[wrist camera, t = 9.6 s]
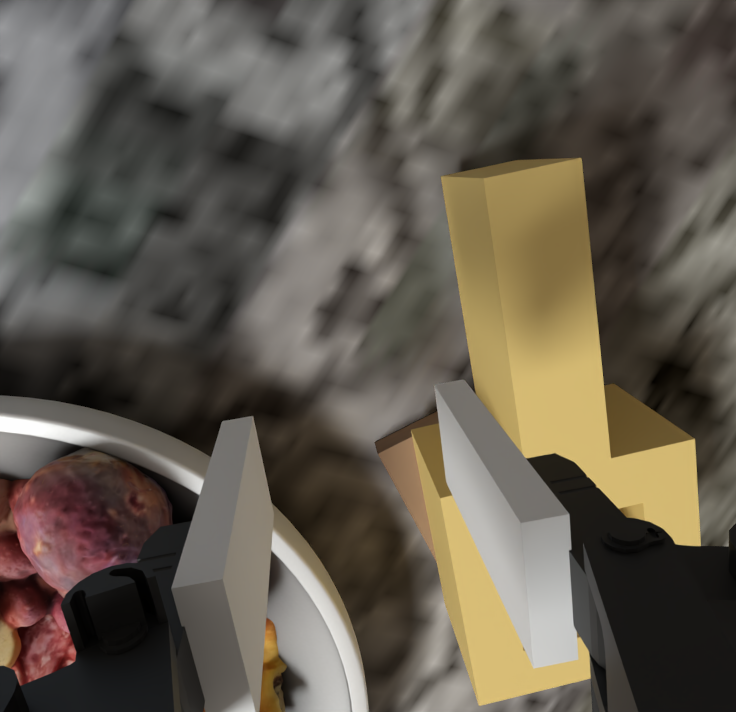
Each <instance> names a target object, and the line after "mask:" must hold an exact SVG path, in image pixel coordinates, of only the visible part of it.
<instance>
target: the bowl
mask: <svg viewBox="0 0 736 712" xmlns="http://www.w3.org/2000/svg"><path fill="white" fill-rule="evenodd" d="M210 459H211V457H210V456H208V455H206V454H205V453H203V452H201V451H199V450H198V449H196V448H194V447H192V446H190V445H188V444H186V443H184V442H182V441H181V440H178V439H176V438H174V437H172V436H170V435H167V434H165V433H163V432H161V431H159V430H156V429H154V428H151V427H148V426H146V425H143V424H141V423H138V422H135V421H133V420H129V419H126V418H123V417H120V416H117V415H114V414H111V413H107V412H103V411H99V410H95V409H92V408H88V407H84V406H79V405H74V404H69V403H63V402H58V401H51V400H44V399H37V398H29V397H16V396H2V395H0V666H6V667H8V668H10V669H13V670H14V671H15V673H16V676H17V678H18V681H19V684H20V686H21V685H23V684H26V683H28V682H31V681H33V680H36V679H38V678H41V677H43V676H45V675H48V674H50V673H53V672H55V671H57V670H60V669H62V668H64V667H66V666H68V665H70V664H72V663H73V662H75V658H76V650H75V647H74V644H73V641H72V638H71V635H70V632H69V629H68V626H67V623H66V621H65V618H64V615H63V612H62V609H61V606H60V605H61V603H62V601H63V599H64V597H65V595H66V594H67V593H68V592H69V591H70V590H71V589H72V588H73V587H74V586H75V585H76V584H77V583H78V582H80V581H81V580H83V579H85V578H86V577H88V576H90V575H91V574H93V573H95V572H97V571H100V570H102V569H105V568H107V567H110V566H114V565H119V564H124V563H137V558H138V556H139V554H140V551H141V549H142V546H143V544H144V542H145V541H146V540H147V539H148V538H149V537H150V536H151V535H152V534H153V533H154V532H155V531H156V530H158V529H159V528H160V527H162V526H167V525H173V524H178V523H184V522H189V521H192V519H193V515H194V512H195V509H196V505H197V502H198V499H199V496H200V492H201V489H202V486H203V482H204V479H205V476H206V473H207V469H208V466H209V463H210ZM272 507H273V512H274V519H273V533H272V547H271V560H270V574H269V588H268V602H267V615H266V629H265V643H264V656H263V670H262V684H261V698H260V711H259V712H369V705H368V695H367V687H366V680H365V674H364V668H363V663H362V658H361V654H360V650H359V646H358V642H357V638H356V635H355V632H354V629H353V627H352V624H351V621H350V618H349V615H348V613H347V610H346V608H345V606H344V603H343V601H342V599H341V597H340V595H339V593H338V591H337V589H336V587H335V585H334V583H333V581H332V579H331V577H330V576H329V574H328V572H327V571H326V569H325V568H324V566H323V564H322V563H321V561H320V559H319V558H318V556H317V555H316V554H315V552H314V551H313V550H312V548H311V547H310V545H309V544H308V543H307V541H306V540H305V539H304V538H303V537H302V535H301V534H300V533H299V532H298V531H297V529H296V528H295V527H294V526H293V525H292V523H291V522H290V521H289V520H288V519H287V518H286V517H285V516H284V515H283V514H282V513H281V512H280V511H279V510H278V509H277V508H276V507H275V506H274V505H273V504H272ZM203 712H205V709H204V711H203Z"/></svg>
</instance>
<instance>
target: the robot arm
mask: <svg viewBox="0 0 736 712" xmlns="http://www.w3.org/2000/svg"><path fill="white" fill-rule="evenodd" d="M434 387H435V395H436V403H437V411H438V419H439V427H440V436H441V444H442V452H443V460H444V468H445V476H446V483H447V485H448V487H449V489H450V491H451V494H452V496H453V498H454V500H455V502H456V504H457V506H458V508H459V511H460V513H461V515H462V517H463V519H464V521H465V523H466V526H467V528H468V530H469V532H470V534H471V536H472V538H473V540H474V543H475V545H476V547H477V549H478V551H479V553H480V555H481V557H482V560H483V562H484V564H485V566H486V568H487V570H488V572H489V575H490V577H491V579H492V581H493V583H494V585H495V587H496V589H497V592H498V594H499V596H500V598H501V600H502V602H503V604H504V607H505V609H506V611H507V613H508V615H509V617H510V619H511V621H512V624H513V626H514V628H515V630H516V632H517V634H518V636H519V639H520V641H521V643H522V645H523V647H524V649H525V651H526V653H527V656H528V658H529V660H530V662H531V664H532V666H533V668H539V667H544V666H549V665H554V664H559V663H564V662H569V661H574V660H578V645H577V632H578V634H579V636H580V637H581V639H582V641H583V642H584V644H585V646H586V647H587V649H588V651H589V657H590V675H591V693H592V711H593V712H736V524H735V525H734V526H733V527H732V528H731V529H730V530H729V547H722V546H687V545H677V544H675V543H674V541H673V539H672V537H671V536H670V535H669V534H668V533H667V532H666V531H665V530H664V529H663V528H661V527H659V526H657V525H655V524H653V523H651V522H648V521H644V520H640V519H636V518H627V517H626V516H625V515H624V514H623V513H622V512H621V511H620V510H619V509H618V508H617V507H616V506H615V505H614V503H613V502H612V501H611V500H610V499H609V498H608V497H607V496H606V495H605V494H604V493H603V492H602V491H601V490H600V489H599V488H597V487H596V484H595V483H594V482H593V481H592V480H591V479H590V478H589V477H587V475H586V474H585V473H584V472H583V470H582V469H581V468H580V467H579V466H578V465H577V464H576V463H575V462H573V461H571V460H569V459H567V458H564V457H562V456H560V455H558V454H556V453H553V454H548V455H542V456H537V457H531V458H525V457H524V455H523V454H522V453H521V452H520V450H519V449H518V448H517V446H516V445H515V444H514V443H513V441H512V440H511V439H510V437H509V436H508V435H507V434H506V432H505V431H504V430H503V428H502V427H501V426H500V425H499V423H498V422H497V421H496V420H495V418H494V417H493V416H492V414H491V413H490V412H489V411H488V409H487V408H486V407H485V405H484V404H483V403H482V402H481V400H480V399H479V398H478V397H477V395H476V394H475V393H474V391H473V390H472V389H471V388H470V386H469V385H468V384H467V382H466V381H465V380H464V379H463V380H457V381H451V382H445V383H440V384H434ZM273 519H274V512H273V507H272V502H271V498H270V493H269V488H268V484H267V479H266V474H265V470H264V465H263V460H262V456H261V451H260V446H259V441H258V437H257V432H256V427H255V423H254V418H253V416H250V417H244V418H238V419H232V420H227V421H222V423H221V427H220V430H219V433H218V436H217V440H216V443H215V446H214V450H213V453H212V456H211V459H210V463H209V466H208V469H207V473H206V476H205V479H204V482H203V486H202V489H201V492H200V496H199V499H198V502H197V505H196V509H195V512H194V515H193V519H192V521H189V522H184V523H178V524H173V525H167V526H162V527H160V528H159V529H158V530H156V531H155V532H154V533H153V534H152V535H151V536H150V537H149V538H148V539H147V540H146V541H145V542H144V544H143V546H142V549H141V551H140V554H139V556H138V558H137V563H124V564H119V565H114V566H110V567H107V568H105V569H102V570H100V571H97V572H95V573H93V574H91V575H90V576H88V577H86V578H85V579H83V580H81V581H80V582H78V583H77V584H76V585H75V586H74V587H73V588H72V589H71V590H70V591H69V592H68V593H67V594H66V595H65V597H64V599H63V601H62V603H61V605H60V606H61V609H62V612H63V615H64V618H65V621H66V623H67V626H68V629H69V632H70V635H71V638H72V641H73V644H74V647H75V650H76V658H75V662H73V663H72V664H70V665H68V666H66V667H64V668H62V669H60V670H57V671H55V672H53V673H50V674H48V675H45V676H43V677H41V678H38V679H36V680H33V681H31V682H28V683H26V684H23V685H21V686H20V684H19V681H18V678H17V676H16V673H15V671H14V670H13V669H10V668H8V667H6V666H0V712H203V711H204V709H205V712H259V711H260V698H261V684H262V670H263V656H264V643H265V629H266V615H267V602H268V588H269V574H270V560H271V547H272V533H273Z"/></svg>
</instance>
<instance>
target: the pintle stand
mask: <svg viewBox="0 0 736 712" xmlns="http://www.w3.org/2000/svg"><path fill="white" fill-rule="evenodd" d="M475 394H476V392H475ZM438 423H439V419H438V411H437V412H435V413H433V414H431V415H429V416H427V417H425V418H423V419H421V420H419V421H417V422H415V423H413V424H411V425H409V426H407V427H405V428H403V429H401V430H399V431H397V432H395V433H393V434H391V435H389V436H387V437H385V438H383V439H381V440H379V441H377V442H375V445H376V449H377V452H378V455H379V457H380V459H381V460H382V462H383V464H384V466H385V468H386V470H387V471H388V473H389V475H390V477H391V479H392V481H393V482H394V484H395V486H396V488H397V490H398V492H399V493H400V495H401V497H402V499H403V501H404V503H405V505H406V506H407V508H408V510H409V512H410V514H411V516H412V517H413V519H414V521H415V523H416V525H417V527H418V528H419V530H420V532H421V534H422V536H423V538H424V539H425V541H426V543H427V545H428V547H429V549H430V550H431V552H432V554H433V556H434V558H435V560H436V556H435V550H434V545H433V540H432V535H431V530H430V525H429V520H428V515H427V510H426V505H425V499H424V494H423V489H422V484H421V479H420V474H419V469H418V464H417V459H416V454H415V449H414V443H413V438H412V433H411V429H416V428H420V427H425V426H429V425H433V424H438ZM436 562H437V561H436Z"/></svg>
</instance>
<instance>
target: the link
mask: <svg viewBox="0 0 736 712" xmlns="http://www.w3.org/2000/svg"><path fill="white" fill-rule="evenodd" d="M441 181H442V187H443V193H444V199H445V206H446V212H447V218H448V224H449V231H450V237H451V243H452V249H453V255H454V262H455V268H456V274H457V280H458V286H459V293H460V299H461V305H462V311H463V318H464V324H465V330H466V336H467V342H468V349H469V355H470V361H471V367H472V374H473V380H474V386H475V392H476V395H477V397H478V398H479V399H480V400H481V402H482V403H483V404H484V405H485V407H486V408H487V409H488V411H489V412H490V413H491V414H492V416H493V417H494V418H495V420H496V421H497V422H498V423H499V425H500V426H501V427H502V428H503V430H504V431H505V432H506V434H507V435H508V436H509V437H510V439H511V440H512V441H513V443H514V444H515V445H516V446H517V448H518V449H519V450H520V452H521V453H522V454H523V455H524V457H525V458H531V457H537V456H542V455H548V454H553V453H556V454H558V455H560V456H562V457H564V458H567V459H569V460H571V461H573V462H575V463H576V464H577V465H578V466H579V467H580V468H581V469H582V470H583V472H584V473H585V474H586V475H587V477H589V478H590V479H591V480H592V481H593V482H594V483H595V484H596V487H597V488H599V489H600V490H601V491H602V492H603V493H604V494H605V495H606V496H607V497H608V498H609V499H610V500H611V501H612V502H613V503H614V505H615V506H616V507H617V508H618V509H619V510H620V511H621V512H622V513H623V514H624V515H625V516H626V517H627V518H636V519H640V520H644V521H648V522H651V523H653V524H655V525H657V526H659V527H661V528H663V529H664V530H665V531H666V532H667V533H668V534H669V535H670V536H671V537H672V539H673V541H674V543H675V544H677V545H687V546H701V541H700V523H699V504H698V486H697V467H696V449H695V439H694V438H693V437H692V436H690V435H689V434H687V433H686V432H684V431H683V430H681V429H680V428H678V427H677V426H675V425H674V424H672V423H671V422H670V421H668V420H667V419H665V418H664V417H662V416H661V415H659V414H658V413H656V412H655V411H653V410H652V409H651V408H649V407H648V406H646V405H645V404H643V403H642V402H640V401H639V400H637V399H636V398H634V397H633V396H632V395H630V394H629V393H627V392H626V391H624V390H623V389H621V388H620V387H618V386H617V385H615V384H614V383H613V384H608V385H604V382H603V372H602V361H601V351H600V341H599V331H598V320H597V310H596V300H595V290H594V279H593V269H592V259H591V249H590V238H589V228H588V218H587V208H586V197H585V187H584V177H583V166H582V158H560V159H533V160H515V161H510V162H505V163H501V164H496V165H491V166H487V167H482V168H477V169H472V170H468V171H463V172H458V173H454V174H449V175H444V176H441ZM411 433H412V438H413V443H414V449H415V454H416V459H417V464H418V469H419V474H420V479H421V484H422V489H423V494H424V499H425V505H426V510H427V515H428V520H429V525H430V530H431V535H432V540H433V545H434V550H435V556H436V561H437V566H438V571H439V576H440V581H441V586H442V591H443V596H444V601H445V605H446V608H447V611H448V614H449V617H450V620H451V623H452V626H453V629H454V632H455V635H456V638H457V641H458V644H459V647H460V650H461V653H462V656H463V659H464V662H465V665H466V668H467V671H468V674H469V677H470V680H471V683H472V686H473V689H474V692H475V695H476V698H477V701H478V704H479V706H481V705H485V704H489V703H493V702H497V701H501V700H505V699H509V698H513V697H517V696H521V695H525V694H529V693H533V692H537V691H542V690H546V689H550V688H554V687H558V686H562V685H566V684H570V683H574V682H578V681H582V680H586V679H590V678H591V675H590V657H589V651H588V649H587V647H586V646H585V644H584V642H583V641H582V639H581V637H580V636H579V634H578V632H577V645H578V660H574V661H569V662H564V663H559V664H554V665H549V666H544V667H539V668H533V666H532V664H531V662H530V660H529V658H528V656H527V653H526V651H525V649H524V647H523V645H522V643H521V641H520V639H519V636H518V634H517V632H516V630H515V628H514V626H513V624H512V621H511V619H510V617H509V615H508V613H507V611H506V609H505V607H504V604H503V602H502V600H501V598H500V596H499V594H498V592H497V589H496V587H495V585H494V583H493V581H492V579H491V577H490V575H489V572H488V570H487V568H486V566H485V564H484V562H483V560H482V557H481V555H480V553H479V551H478V549H477V547H476V545H475V543H474V540H473V538H472V536H471V534H470V532H469V530H468V528H467V526H466V523H465V521H464V519H463V517H462V515H461V513H460V511H459V508H458V506H457V504H456V502H455V500H454V498H453V496H452V494H451V491H450V489H449V487H448V485H447V483H446V476H445V468H444V460H443V452H442V444H441V436H440V427H439V423H438V424H433V425H429V426H425V427H420V428H416V429H411Z"/></svg>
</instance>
